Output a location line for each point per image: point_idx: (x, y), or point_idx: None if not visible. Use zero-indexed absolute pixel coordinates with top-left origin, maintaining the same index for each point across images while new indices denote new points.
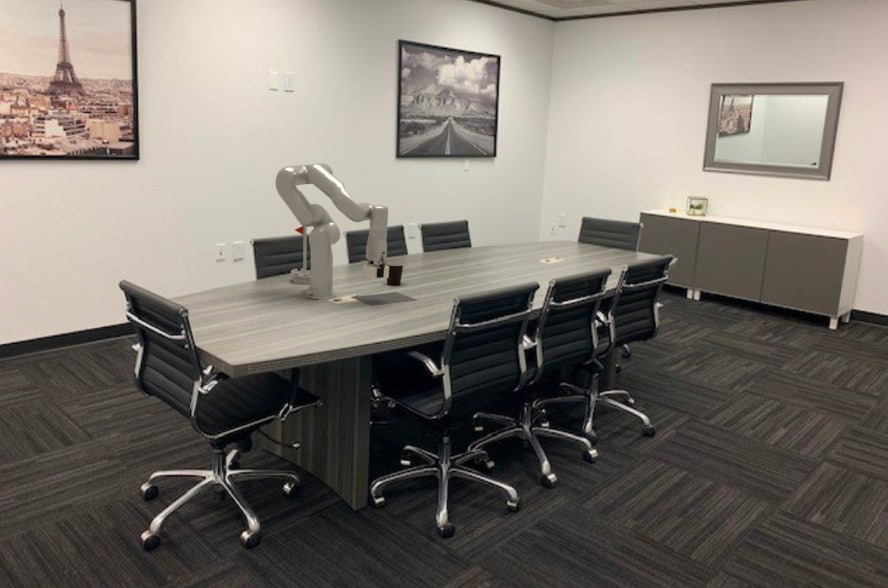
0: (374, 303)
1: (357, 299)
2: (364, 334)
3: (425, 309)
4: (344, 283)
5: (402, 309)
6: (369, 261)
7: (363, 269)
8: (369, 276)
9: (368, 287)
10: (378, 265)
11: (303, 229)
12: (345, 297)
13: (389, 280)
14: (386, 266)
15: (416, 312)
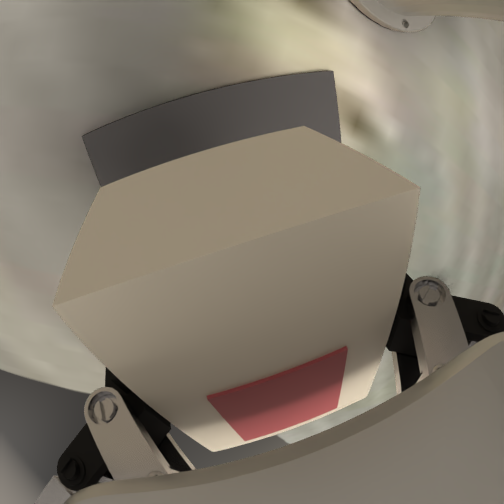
0: (138, 162)
1: (266, 85)
2: None
3: (65, 352)
4: (491, 167)
5: (47, 281)
6: (430, 336)
7: (343, 154)
8: (126, 187)
9: (440, 223)
10: (116, 434)
11: None
12: (354, 58)
13: None
14: (214, 443)
15: (15, 318)
